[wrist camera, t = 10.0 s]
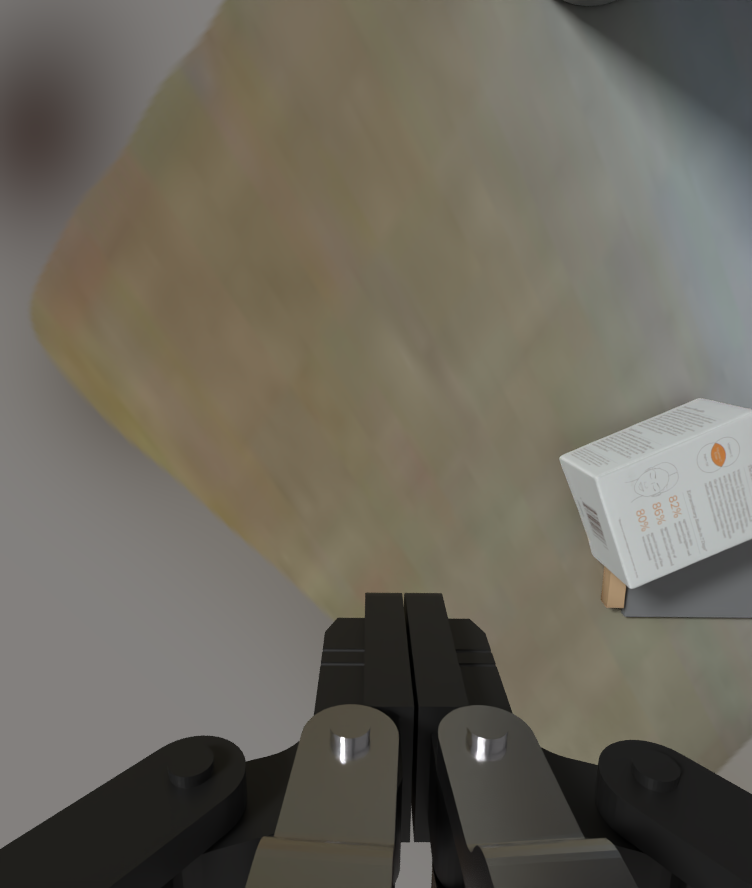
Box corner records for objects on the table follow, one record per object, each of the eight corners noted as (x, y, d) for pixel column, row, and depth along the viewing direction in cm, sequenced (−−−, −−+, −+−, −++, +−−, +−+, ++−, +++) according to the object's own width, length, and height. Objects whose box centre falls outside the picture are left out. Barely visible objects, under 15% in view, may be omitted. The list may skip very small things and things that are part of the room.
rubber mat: (642, 427, 43) (645, 428, 42) (814, 429, 43) (821, 431, 43) (621, 612, 46) (624, 616, 46) (781, 613, 46) (787, 618, 46)
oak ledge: (617, 441, 43) (624, 445, 42) (635, 441, 43) (642, 445, 42) (600, 599, 46) (606, 607, 45) (617, 600, 46) (623, 607, 45)
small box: (589, 557, 44) (728, 500, 44) (630, 592, 38) (788, 527, 38) (556, 453, 42) (701, 394, 42) (594, 475, 36) (760, 407, 36)
